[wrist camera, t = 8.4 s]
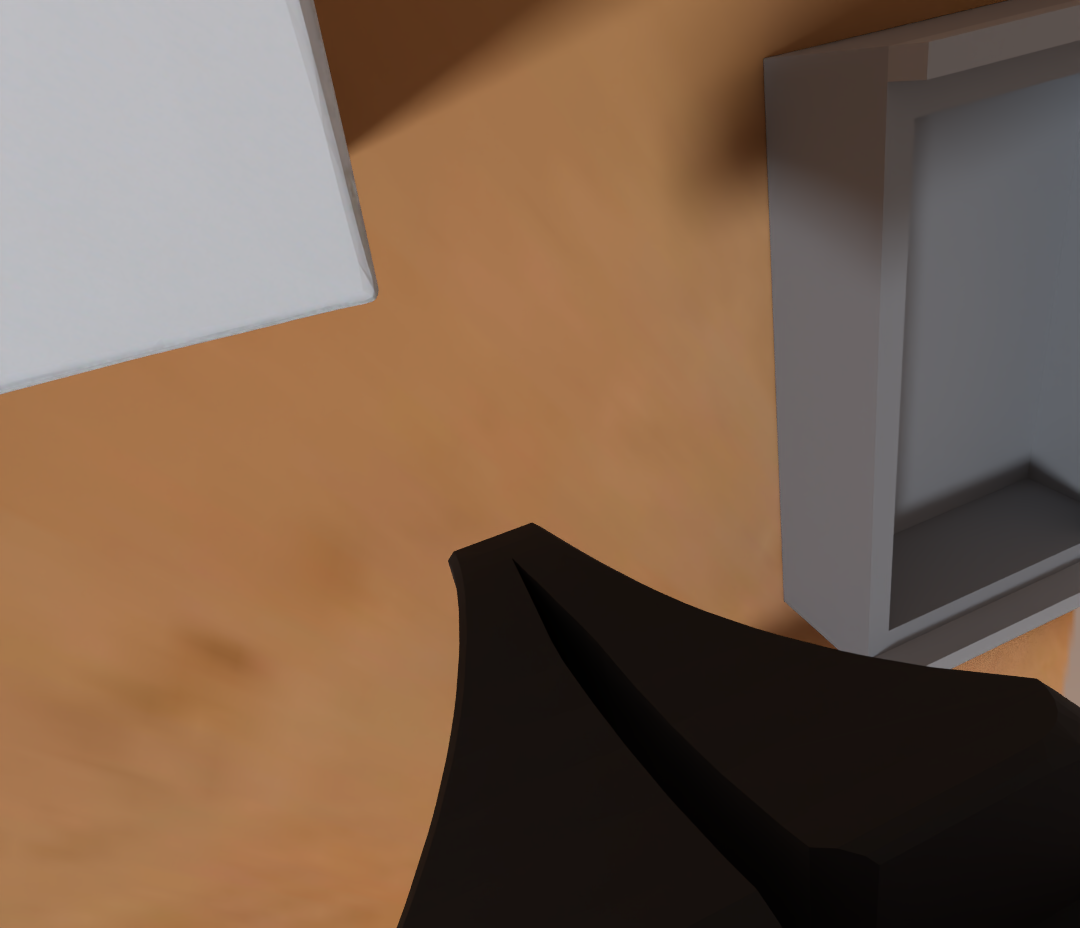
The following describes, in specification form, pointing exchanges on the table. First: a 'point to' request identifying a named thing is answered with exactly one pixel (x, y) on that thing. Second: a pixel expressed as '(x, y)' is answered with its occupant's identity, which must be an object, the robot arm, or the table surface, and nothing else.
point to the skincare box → (167, 180)
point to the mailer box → (929, 329)
